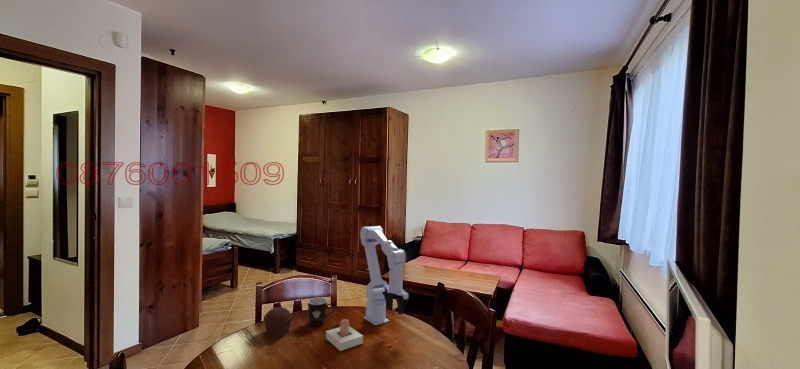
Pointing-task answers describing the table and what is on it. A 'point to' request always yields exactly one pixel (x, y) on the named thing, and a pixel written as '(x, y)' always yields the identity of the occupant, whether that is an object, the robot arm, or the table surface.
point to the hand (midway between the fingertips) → (394, 310)
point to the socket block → (344, 338)
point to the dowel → (344, 328)
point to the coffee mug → (318, 311)
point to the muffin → (277, 322)
